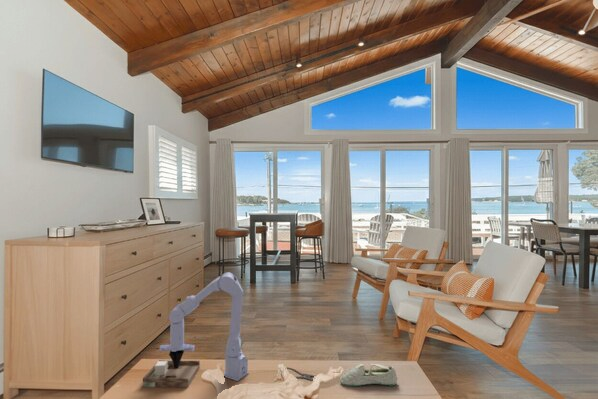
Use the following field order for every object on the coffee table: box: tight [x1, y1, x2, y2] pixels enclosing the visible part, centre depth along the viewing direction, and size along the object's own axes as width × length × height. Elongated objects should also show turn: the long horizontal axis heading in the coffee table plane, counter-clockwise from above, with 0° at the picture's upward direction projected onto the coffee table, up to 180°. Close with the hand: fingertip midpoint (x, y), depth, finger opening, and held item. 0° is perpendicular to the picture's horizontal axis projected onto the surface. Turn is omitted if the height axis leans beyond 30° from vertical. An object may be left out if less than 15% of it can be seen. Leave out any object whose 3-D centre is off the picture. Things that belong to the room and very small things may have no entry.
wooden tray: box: [142, 359, 201, 388], centre depth 142 cm, size 18×16×4 cm
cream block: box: [154, 360, 168, 375], centre depth 142 cm, size 4×4×4 cm
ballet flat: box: [339, 363, 398, 387], centre depth 140 cm, size 9×24×8 cm, turn 91°
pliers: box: [287, 367, 315, 382], centre depth 146 cm, size 10×1×20 cm
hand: (176, 367), depth 142 cm, fingers closed
